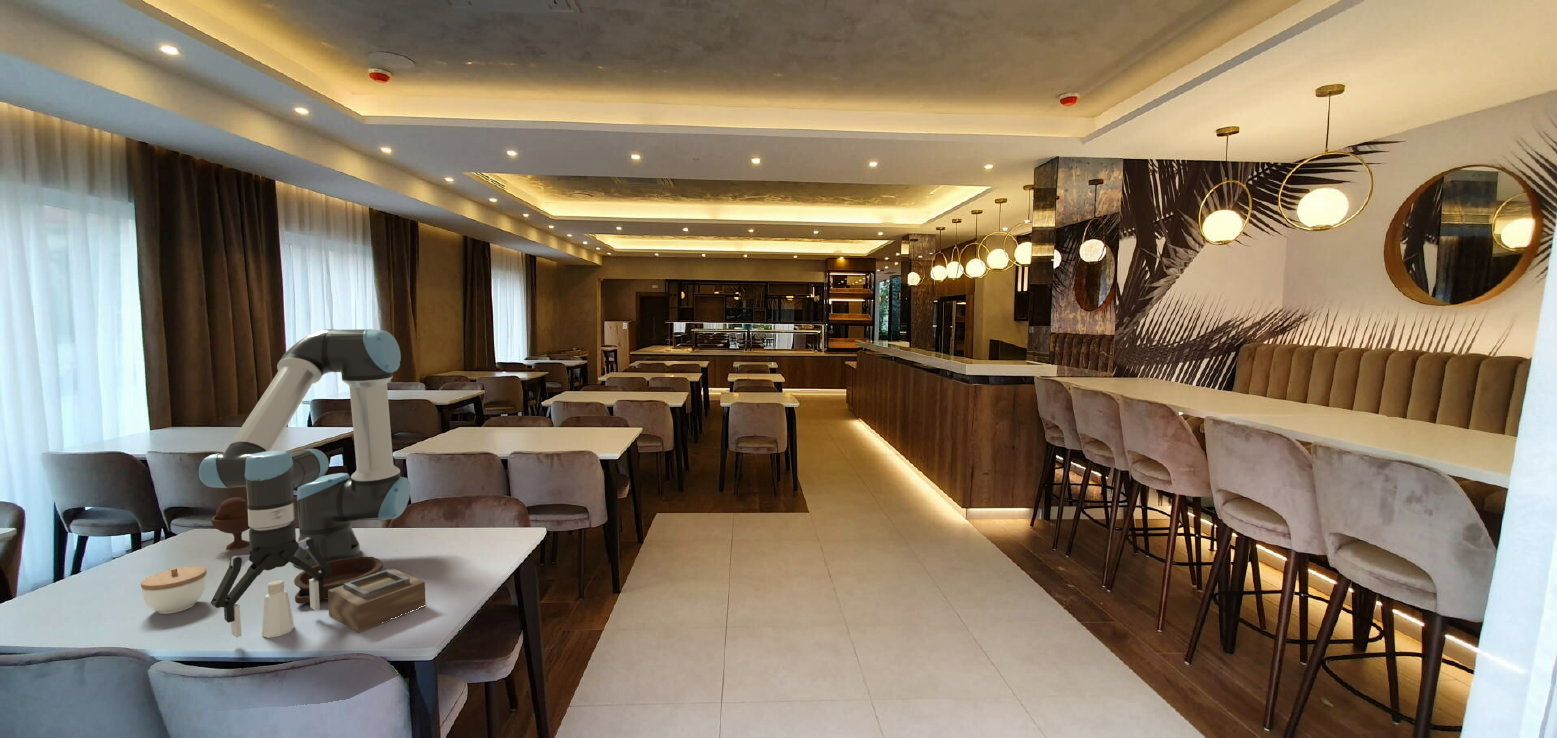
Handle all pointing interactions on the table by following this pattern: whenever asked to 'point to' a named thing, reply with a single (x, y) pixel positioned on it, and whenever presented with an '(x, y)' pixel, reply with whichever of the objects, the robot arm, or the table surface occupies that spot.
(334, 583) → the dish
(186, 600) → the lidded jar
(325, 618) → the table surface
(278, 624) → the pepper shaker
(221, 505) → the ice cream bowl
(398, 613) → the display riser
